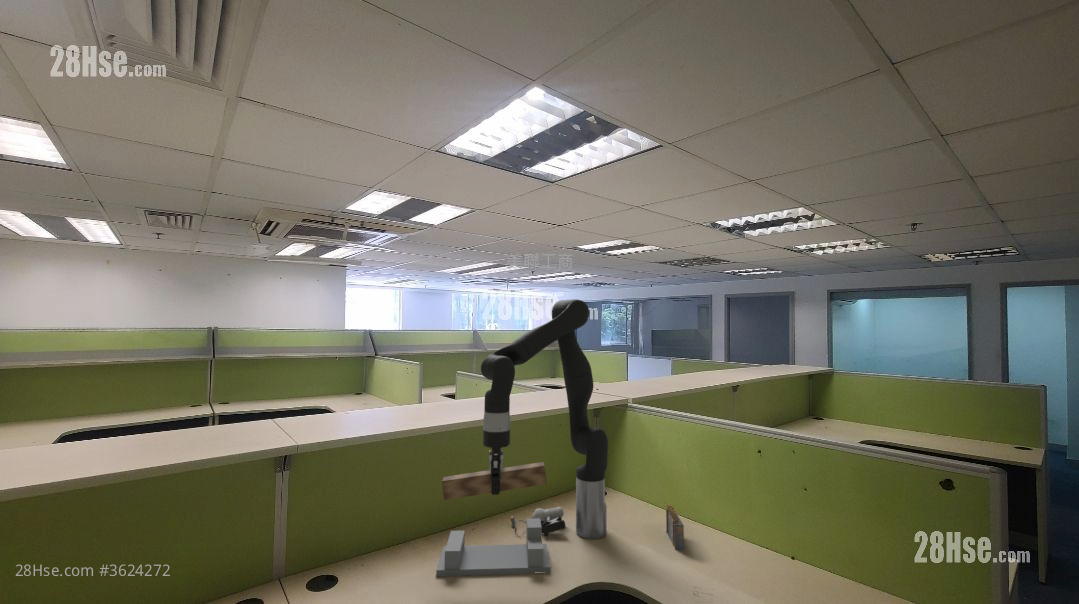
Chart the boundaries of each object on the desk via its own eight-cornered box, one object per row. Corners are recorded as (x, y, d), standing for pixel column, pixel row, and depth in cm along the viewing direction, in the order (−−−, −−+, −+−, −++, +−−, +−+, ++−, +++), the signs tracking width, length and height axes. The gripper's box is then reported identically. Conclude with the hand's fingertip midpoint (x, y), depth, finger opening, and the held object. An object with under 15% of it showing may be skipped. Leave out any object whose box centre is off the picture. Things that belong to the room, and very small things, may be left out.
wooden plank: (545, 479, 123) (543, 461, 123) (546, 484, 119) (544, 465, 120) (445, 495, 121) (443, 477, 121) (443, 500, 117) (441, 481, 118)
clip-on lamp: (511, 545, 137) (567, 534, 137) (506, 526, 137) (562, 514, 137) (513, 525, 149) (565, 514, 149) (509, 507, 149) (561, 496, 148)
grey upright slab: (665, 533, 140) (664, 502, 141) (674, 534, 140) (674, 502, 141) (673, 551, 129) (673, 517, 130) (684, 551, 129) (683, 517, 130)
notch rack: (546, 549, 129) (546, 517, 130) (550, 572, 116) (550, 537, 117) (443, 551, 127) (444, 519, 128) (436, 576, 114) (437, 540, 115)
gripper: (510, 433, 114) (509, 501, 113) (510, 422, 129) (509, 482, 127) (481, 433, 114) (480, 501, 113) (484, 422, 128) (483, 483, 127)
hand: (495, 491), depth 120 cm, fingers closed on wooden plank, 3 cm apart
